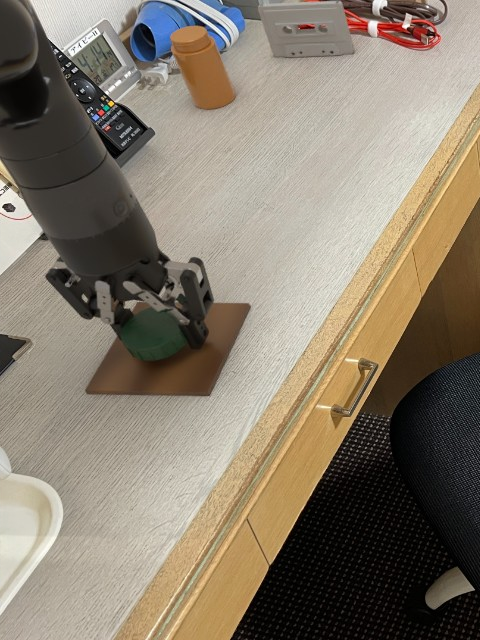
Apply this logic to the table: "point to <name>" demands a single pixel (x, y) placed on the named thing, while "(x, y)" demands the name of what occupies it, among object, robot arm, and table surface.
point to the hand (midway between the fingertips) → (168, 342)
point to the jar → (202, 67)
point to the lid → (152, 335)
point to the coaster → (172, 360)
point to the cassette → (306, 40)
